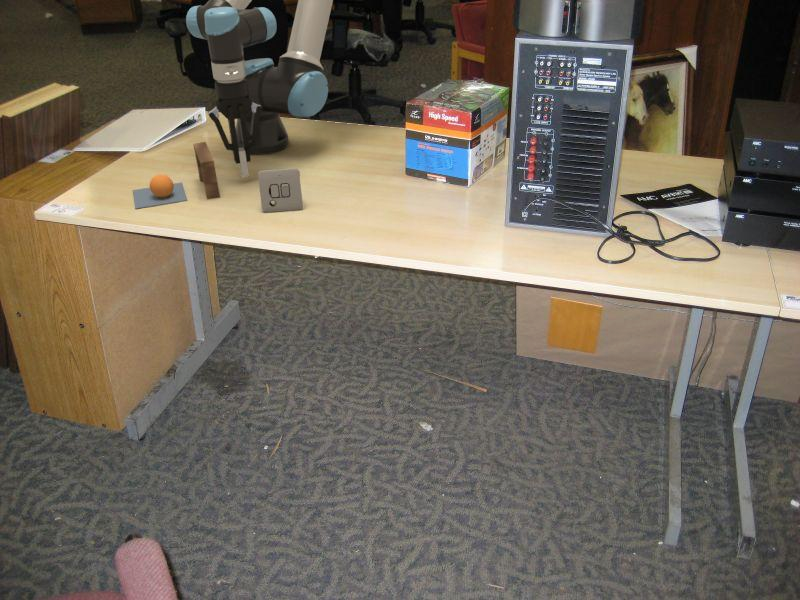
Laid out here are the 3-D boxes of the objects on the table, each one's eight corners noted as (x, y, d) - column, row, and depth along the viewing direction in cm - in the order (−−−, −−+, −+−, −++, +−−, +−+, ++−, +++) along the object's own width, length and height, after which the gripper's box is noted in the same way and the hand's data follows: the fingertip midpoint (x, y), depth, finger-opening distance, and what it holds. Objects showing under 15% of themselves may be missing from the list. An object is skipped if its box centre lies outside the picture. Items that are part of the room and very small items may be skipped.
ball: (166, 167, 180) (144, 176, 178) (170, 176, 175) (147, 184, 174) (175, 187, 183) (153, 195, 182) (179, 196, 179) (157, 204, 178)
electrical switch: (261, 213, 170) (256, 173, 166) (263, 206, 174) (258, 167, 170) (303, 210, 171) (299, 171, 167) (303, 203, 175) (299, 164, 171)
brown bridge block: (211, 176, 190) (205, 141, 185) (220, 197, 178) (213, 160, 174) (199, 178, 189) (193, 143, 185) (207, 199, 178) (200, 162, 173)
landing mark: (182, 183, 187) (182, 182, 187) (187, 200, 177) (187, 199, 177) (132, 190, 184) (132, 190, 184) (135, 209, 174) (135, 208, 174)
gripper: (204, 86, 168) (220, 184, 181) (261, 79, 172) (273, 175, 184) (200, 78, 174) (216, 173, 187) (255, 71, 178) (267, 165, 190)
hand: (244, 174), depth 185 cm, fingers closed
